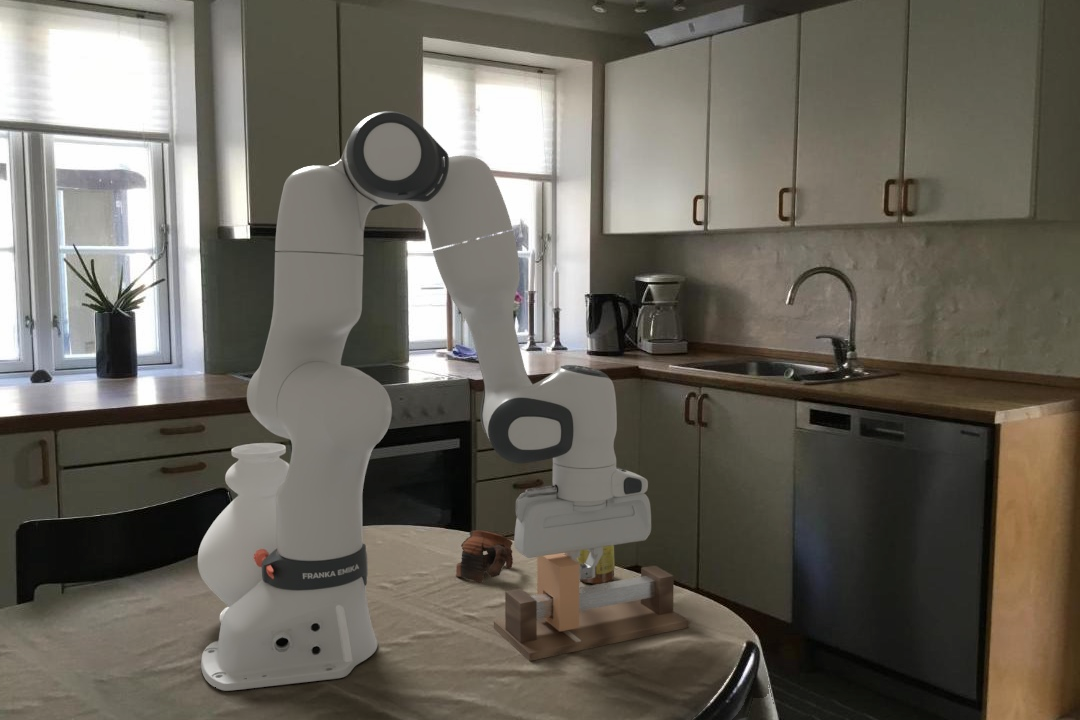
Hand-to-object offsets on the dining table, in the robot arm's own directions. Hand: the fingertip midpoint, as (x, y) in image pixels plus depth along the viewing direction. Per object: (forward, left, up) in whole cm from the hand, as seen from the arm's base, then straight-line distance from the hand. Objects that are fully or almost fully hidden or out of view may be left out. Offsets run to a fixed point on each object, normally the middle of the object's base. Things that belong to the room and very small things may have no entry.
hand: (583, 578), depth 131 cm
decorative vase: (-40, +25, -8) cm, 48 cm away
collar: (-4, 0, -5) cm, 7 cm away
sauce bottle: (+11, +17, -8) cm, 22 cm away
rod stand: (+1, 0, -8) cm, 8 cm away
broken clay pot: (-4, +27, -8) cm, 28 cm away
